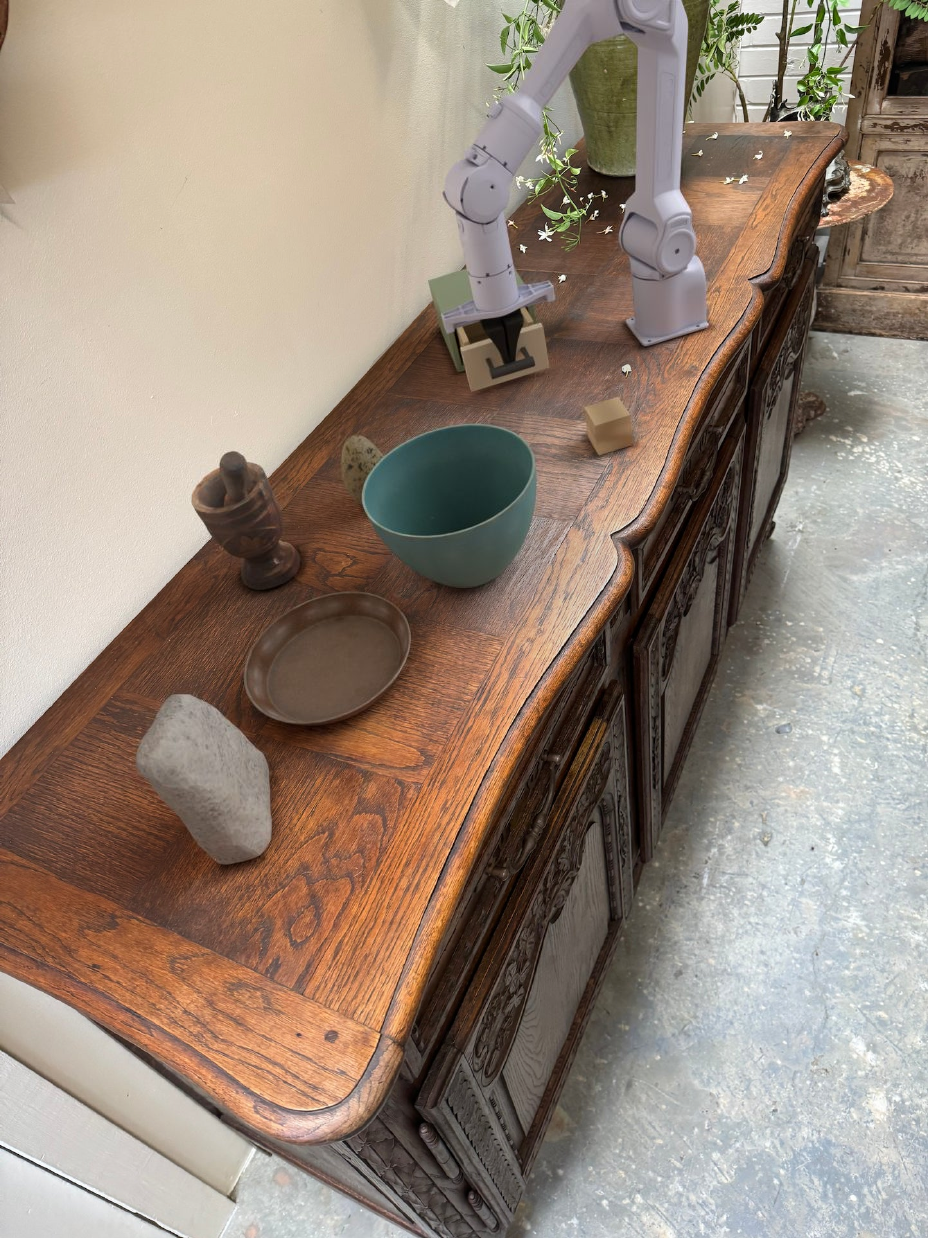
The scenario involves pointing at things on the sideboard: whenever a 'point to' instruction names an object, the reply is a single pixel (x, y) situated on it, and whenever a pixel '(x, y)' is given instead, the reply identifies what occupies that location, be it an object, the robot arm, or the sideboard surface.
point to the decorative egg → (358, 464)
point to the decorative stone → (209, 778)
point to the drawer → (487, 361)
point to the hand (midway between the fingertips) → (509, 364)
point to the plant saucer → (327, 658)
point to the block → (608, 426)
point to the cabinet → (457, 304)
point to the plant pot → (454, 502)
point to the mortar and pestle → (246, 521)
